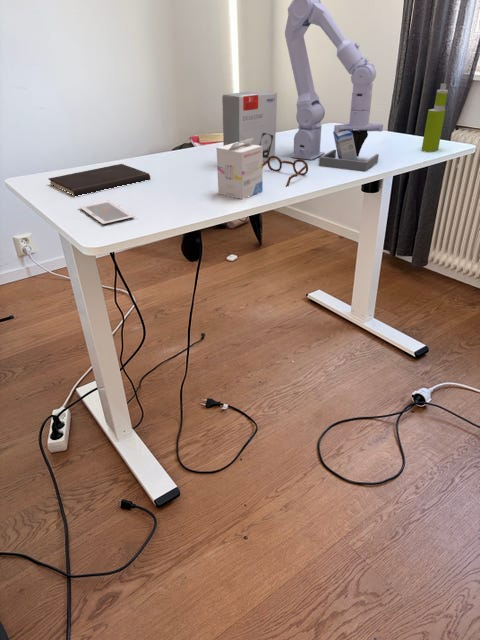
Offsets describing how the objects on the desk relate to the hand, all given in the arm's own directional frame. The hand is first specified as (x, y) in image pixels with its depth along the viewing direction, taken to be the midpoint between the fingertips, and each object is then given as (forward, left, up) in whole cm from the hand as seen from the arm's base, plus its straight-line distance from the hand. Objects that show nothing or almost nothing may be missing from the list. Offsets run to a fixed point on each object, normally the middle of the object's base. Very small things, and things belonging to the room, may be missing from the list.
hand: (355, 156), depth 153 cm
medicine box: (-2, +2, -1) cm, 3 cm away
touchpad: (-75, +34, -2) cm, 82 cm away
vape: (+24, -17, -1) cm, 30 cm away
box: (-6, 0, -1) cm, 6 cm away
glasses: (-29, +13, -2) cm, 32 cm away
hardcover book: (-56, +55, -2) cm, 78 cm away
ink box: (-46, +15, -2) cm, 48 cm away
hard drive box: (-17, +29, -2) cm, 33 cm away
